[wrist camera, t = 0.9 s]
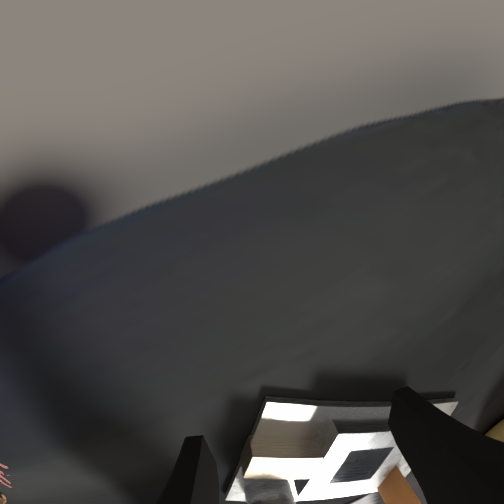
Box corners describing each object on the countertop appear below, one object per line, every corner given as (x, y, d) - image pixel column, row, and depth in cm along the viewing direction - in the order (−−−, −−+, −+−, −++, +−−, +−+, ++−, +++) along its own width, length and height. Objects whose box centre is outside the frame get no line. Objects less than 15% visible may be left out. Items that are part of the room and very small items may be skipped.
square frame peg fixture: (368, 471, 25) (376, 488, 22) (232, 475, 22) (234, 496, 20) (409, 411, 23) (422, 427, 21) (259, 408, 20) (264, 431, 18)
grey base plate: (394, 483, 27) (416, 520, 21) (224, 494, 24) (230, 548, 17) (454, 397, 25) (491, 433, 18) (265, 395, 21) (284, 464, 15)
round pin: (390, 483, 26) (414, 523, 19) (369, 487, 26) (392, 530, 19) (404, 466, 26) (431, 507, 19) (383, 470, 25) (409, 515, 18)
